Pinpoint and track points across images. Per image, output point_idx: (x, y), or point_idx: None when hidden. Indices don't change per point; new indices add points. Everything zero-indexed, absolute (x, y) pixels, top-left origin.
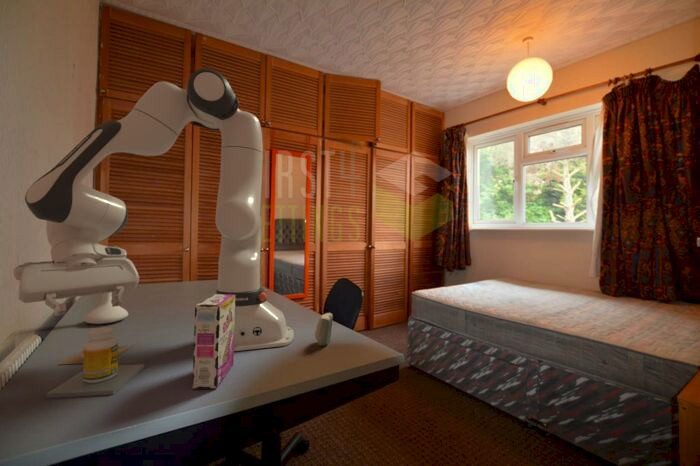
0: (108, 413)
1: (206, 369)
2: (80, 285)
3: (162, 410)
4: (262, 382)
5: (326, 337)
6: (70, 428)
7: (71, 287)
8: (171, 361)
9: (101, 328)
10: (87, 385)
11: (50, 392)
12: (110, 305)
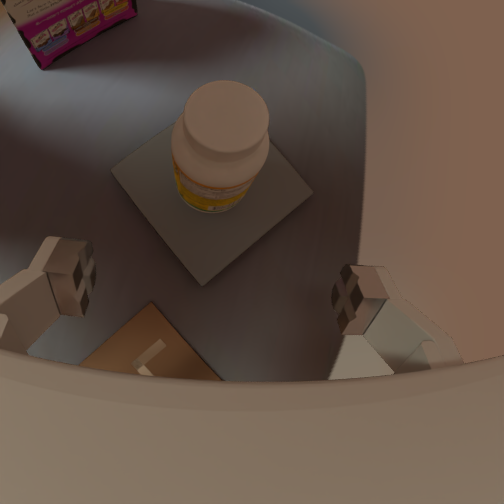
0: (256, 48)
1: None
2: (307, 394)
3: (204, 3)
4: None
5: None
6: (304, 57)
7: (372, 383)
8: (56, 159)
9: (218, 134)
10: None
11: (307, 190)
12: None
